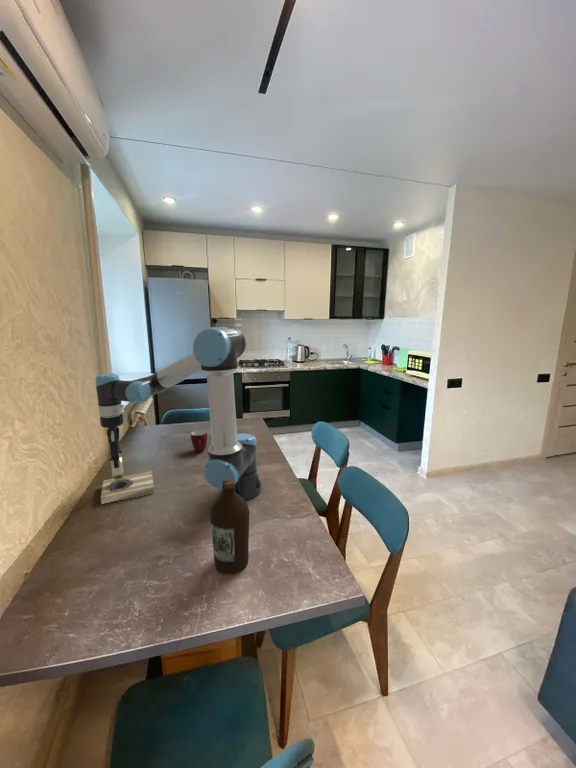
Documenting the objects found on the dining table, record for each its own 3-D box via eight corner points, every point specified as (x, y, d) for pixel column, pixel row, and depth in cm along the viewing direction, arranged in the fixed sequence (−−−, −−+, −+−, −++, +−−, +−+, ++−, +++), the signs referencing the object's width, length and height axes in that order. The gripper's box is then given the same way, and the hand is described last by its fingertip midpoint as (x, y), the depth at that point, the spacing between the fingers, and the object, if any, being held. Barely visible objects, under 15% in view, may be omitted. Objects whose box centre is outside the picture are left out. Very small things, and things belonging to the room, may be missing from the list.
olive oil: (225, 544, 95) (222, 469, 90) (257, 554, 91) (255, 475, 86) (204, 570, 85) (199, 487, 80) (238, 582, 81) (235, 495, 76)
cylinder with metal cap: (124, 477, 122) (122, 458, 120) (112, 480, 120) (110, 460, 118) (124, 473, 125) (122, 454, 123) (112, 475, 123) (110, 456, 122)
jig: (154, 493, 123) (153, 486, 122) (101, 505, 115) (100, 497, 114) (152, 477, 135) (151, 471, 134) (104, 487, 127) (103, 480, 127)
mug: (209, 454, 158) (208, 436, 156) (193, 457, 155) (191, 438, 153) (206, 446, 168) (205, 429, 166) (191, 449, 165) (190, 431, 163)
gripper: (122, 419, 112) (128, 479, 116) (123, 408, 126) (128, 461, 131) (97, 422, 108) (105, 484, 113) (101, 410, 123) (108, 465, 128)
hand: (117, 472), depth 122 cm, fingers closed on cylinder with metal cap, 4 cm apart
